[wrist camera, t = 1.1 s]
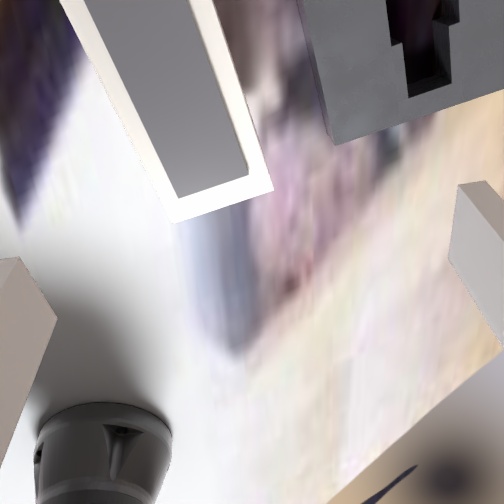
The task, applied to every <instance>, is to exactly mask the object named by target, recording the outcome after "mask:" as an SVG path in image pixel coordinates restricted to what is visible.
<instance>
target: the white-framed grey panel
mask: <svg viewBox="0 0 504 504" xmlns="http://www.w3.org/2000/svg"><path fill="white" fill-rule="evenodd" d="M60 2H61V4H62V6H63V8H64V10H65V12H66V14H67V16H68V18H69V20H70V22H71V24H72V26H73V28H74V30H75V32H76V34H77V36H78V38H79V40H80V42H81V44H82V46H83V48H84V50H85V52H86V54H87V56H88V58H89V60H90V62H91V64H92V66H93V68H94V70H95V72H96V74H97V76H98V78H99V79H100V81H101V83H102V85H103V87H104V89H105V91H106V93H107V95H108V97H109V99H110V101H111V103H112V105H113V107H114V109H115V111H116V113H117V115H118V117H119V119H120V121H121V123H122V125H123V127H124V129H125V131H126V133H127V135H128V137H129V139H130V141H131V143H132V145H133V147H134V149H135V151H136V153H137V155H138V157H139V159H140V161H141V163H142V165H143V167H144V169H145V171H146V172H147V174H148V176H149V178H150V180H151V182H152V184H153V186H154V188H155V190H156V192H157V194H158V196H159V198H160V200H161V202H162V204H163V206H164V208H165V210H166V212H167V214H168V216H169V218H170V220H171V222H172V224H174V223H177V222H180V221H183V220H186V219H189V218H192V217H195V216H198V215H201V214H204V213H207V212H210V211H213V210H216V209H219V208H222V207H225V206H228V205H231V204H234V203H237V202H240V201H243V200H246V199H249V198H252V197H255V196H258V195H261V194H264V193H267V192H270V191H273V190H274V188H273V185H272V181H271V178H270V175H269V171H268V168H267V165H266V161H265V158H264V155H263V151H262V148H261V145H260V141H259V138H258V135H257V132H256V129H255V126H254V123H253V120H252V117H251V114H250V110H249V107H248V104H247V101H246V98H245V95H244V92H243V89H242V86H241V83H240V80H239V77H238V74H237V71H236V68H235V65H234V61H233V58H232V55H231V52H230V49H229V46H228V43H227V40H226V37H225V34H224V31H223V28H222V25H221V22H220V19H219V16H218V12H217V9H216V6H215V3H214V0H60Z"/></svg>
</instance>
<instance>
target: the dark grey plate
mask: <svg viewBox="0 0 504 504" xmlns="http://www.w3.org/2000/svg"><path fill="white" fill-rule="evenodd" d="M296 1H297V6H298V10H299V14H300V19H301V23H302V27H303V32H304V36H305V40H306V45H307V49H308V53H309V58H310V62H311V66H312V71H313V75H314V79H315V84H316V88H317V92H318V97H319V101H320V105H321V110H322V114H323V118H324V123H325V127H326V131H327V134H328V136H329V137H330V139H331V140H332V142H333V143H334V145H335V146H336V145H339V144H342V143H345V142H348V141H351V140H354V139H357V138H360V137H363V136H366V135H369V134H372V133H375V132H378V131H381V130H384V129H387V128H390V127H393V126H396V125H399V124H401V123H404V122H407V121H410V120H413V119H416V118H419V117H422V116H425V115H428V114H431V113H434V112H437V111H440V110H443V109H446V108H449V107H452V106H455V105H458V104H461V103H463V102H466V101H469V100H472V99H475V98H478V97H481V96H484V95H487V94H490V93H493V92H496V91H499V90H502V89H504V0H441V3H442V17H439V18H436V19H434V20H432V26H433V39H434V52H435V66H436V74H435V75H432V76H430V77H427V78H424V79H421V80H418V81H415V82H412V83H409V84H407V82H406V73H405V64H404V56H403V47H402V43H401V42H400V41H398V40H396V39H394V38H392V37H390V33H389V25H388V17H387V9H386V1H385V0H296Z"/></svg>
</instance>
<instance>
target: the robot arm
mask: <svg viewBox="0 0 504 504" xmlns="http://www.w3.org/2000/svg"><path fill="white" fill-rule="evenodd" d="M448 259H449V261H450V263H451V264H452V266H453V268H454V269H455V271H456V272H457V274H458V276H459V277H460V279H461V281H462V282H463V284H464V285H465V287H466V289H467V290H468V292H469V294H470V295H471V297H472V299H473V300H474V302H475V303H476V305H477V307H478V308H479V310H480V312H481V313H482V315H483V317H484V318H485V320H486V321H487V323H488V325H489V326H490V328H491V330H492V331H493V333H494V334H495V336H496V338H497V339H498V341H499V343H500V344H501V346H502V348H503V349H504V200H503V199H502V198H501V197H500V196H499V195H498V194H497V193H496V192H495V191H494V189H493V188H492V187H491V186H490V185H489V184H488V183H487V182H486V181H479V182H473V183H467V184H460V185H458V189H457V196H456V203H455V210H454V218H453V225H452V232H451V239H450V246H449V253H448ZM57 319H58V318H57V316H56V314H55V313H54V311H53V310H52V308H51V307H50V305H49V303H48V302H47V300H46V299H45V297H44V295H43V294H42V292H41V291H40V289H39V287H38V286H37V284H36V283H35V281H34V279H33V278H32V276H31V275H30V273H29V271H28V270H27V268H26V267H25V265H24V263H23V262H22V260H21V259H20V257H14V258H7V259H1V260H0V467H1V465H2V462H3V460H4V457H5V454H6V452H7V449H8V447H9V444H10V441H11V439H12V436H13V434H14V431H15V428H16V426H17V423H18V421H19V418H20V415H21V413H22V410H23V408H24V405H25V402H26V400H27V397H28V395H29V392H30V389H31V387H32V384H33V382H34V379H35V376H36V374H37V371H38V369H39V366H40V363H41V361H42V358H43V356H44V353H45V350H46V348H47V345H48V343H49V340H50V337H51V335H52V332H53V330H54V327H55V324H56V322H57ZM171 454H172V437H171V433H170V431H169V429H168V428H167V426H166V425H165V424H164V423H163V422H162V421H161V420H160V419H158V418H157V417H156V416H154V415H152V414H151V413H149V412H147V411H144V410H142V409H139V408H136V407H132V406H128V405H123V404H116V403H92V404H84V405H79V406H75V407H72V408H69V409H66V410H64V411H62V412H60V413H58V414H56V415H54V416H53V417H52V418H50V419H49V420H48V421H47V422H46V423H45V424H44V426H43V427H42V429H41V431H40V433H39V437H38V440H37V443H36V446H35V450H34V479H35V500H36V504H155V501H156V499H157V496H158V494H159V491H160V489H161V486H162V484H163V481H164V478H165V475H166V473H167V471H168V468H169V466H170V462H171Z"/></svg>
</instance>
